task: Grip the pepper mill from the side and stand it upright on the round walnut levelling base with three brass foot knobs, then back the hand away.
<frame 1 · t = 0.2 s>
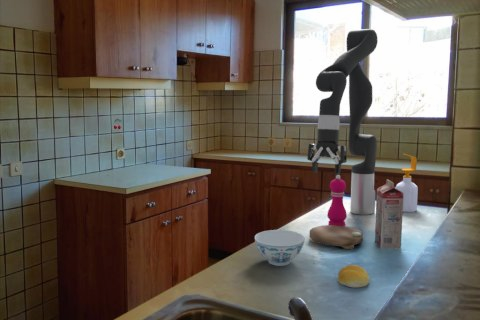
hand: (325, 173, 163), 22 cm above the countertop, tool pointing down, fingers open, 8 cm apart
juice carton: (387, 245, 153), on the countertop
levelling base: (335, 241, 157), on the countertop
pepper mill: (336, 226, 174), on the countertop
chinaware: (279, 262, 139), on the countertop
soap bottle: (405, 210, 198), on the countertop
bread roll: (352, 282, 125), on the countertop
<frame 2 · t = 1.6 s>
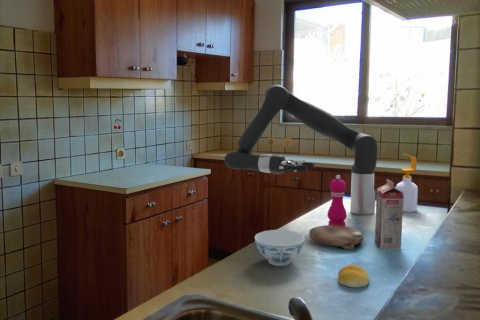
hand: (310, 167, 176), 22 cm above the countertop, tool horizontal, fingers open, 8 cm apart
nothing on the countertop moved.
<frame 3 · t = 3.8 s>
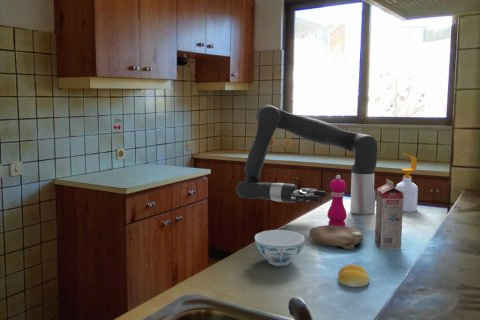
hand: (322, 196, 176), 11 cm above the countertop, tool horizontal, fingers open, 8 cm apart
nothing on the countertop moved.
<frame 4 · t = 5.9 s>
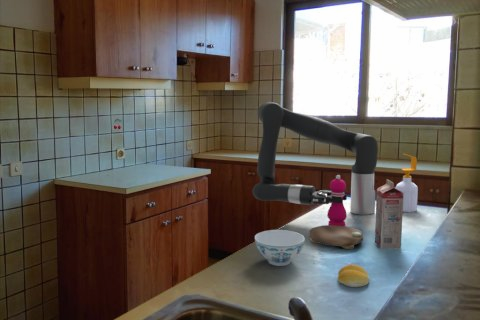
hand: (344, 199, 172), 11 cm above the countertop, tool horizontal, fingers closed on pepper mill, 5 cm apart
pepper mill: (336, 226, 174), on the countertop, touching gripper
everything else where it was.
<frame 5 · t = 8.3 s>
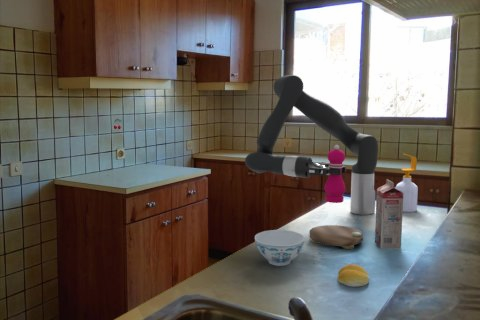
hand: (343, 170, 158), 24 cm above the countertop, tool horizontal, fingers closed on pepper mill, 5 cm apart
pepper mill: (334, 201, 161), point 13 cm above the countertop, touching gripper
everything else where it was.
when the fingers open (15 cm above the countertop, at t = 10.8 s): pepper mill drops 1 cm, resting on levelling base.
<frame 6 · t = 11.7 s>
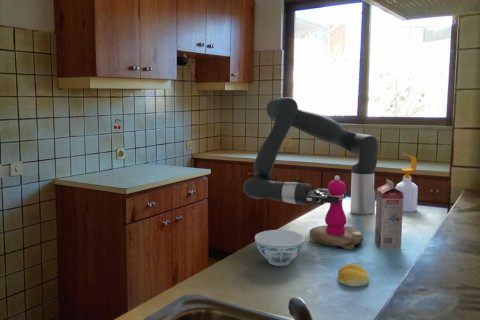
hand: (342, 197, 154), 16 cm above the countertop, tool horizontal, fingers open, 8 cm apart
pepper mill: (335, 233, 157), point 3 cm above the countertop, touching levelling base
everything else where it was.
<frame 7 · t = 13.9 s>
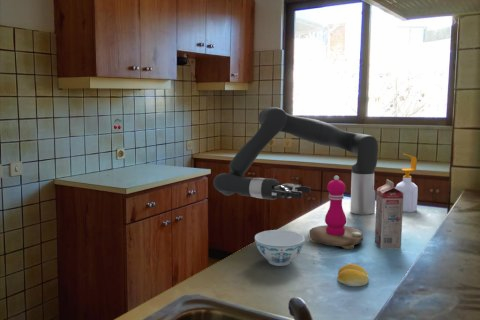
hand: (306, 192, 160), 16 cm above the countertop, tool horizontal, fingers open, 8 cm apart
nothing on the countertop moved.
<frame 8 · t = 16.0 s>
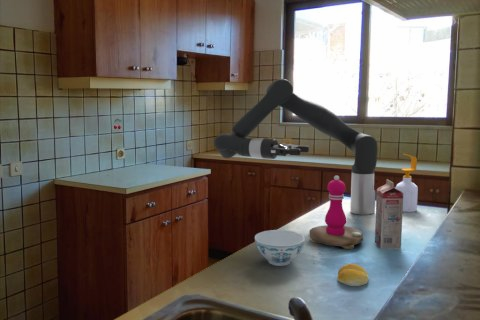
hand: (304, 150, 164), 30 cm above the countertop, tool horizontal, fingers open, 8 cm apart
nothing on the countertop moved.
at the end: pepper mill inside the target area on the levelling base (0.2 cm from its centre), point 2.8 cm above the levelling base's base; pepper mill tilted 0°; the gripper is holding nothing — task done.
